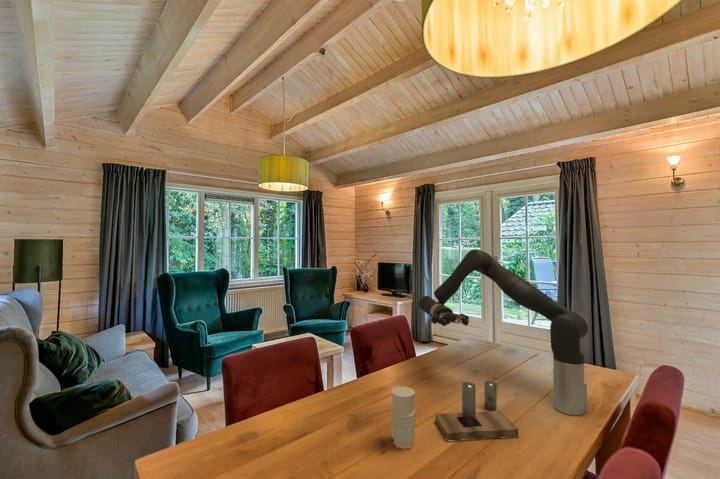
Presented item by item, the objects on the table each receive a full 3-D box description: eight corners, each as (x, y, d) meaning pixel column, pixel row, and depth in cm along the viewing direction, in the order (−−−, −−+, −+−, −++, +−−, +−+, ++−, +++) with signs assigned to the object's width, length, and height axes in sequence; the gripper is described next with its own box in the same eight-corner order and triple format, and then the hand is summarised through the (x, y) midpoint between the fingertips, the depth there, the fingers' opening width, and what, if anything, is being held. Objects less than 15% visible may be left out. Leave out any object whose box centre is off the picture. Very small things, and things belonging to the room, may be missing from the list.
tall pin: (472, 425, 108) (472, 381, 108) (477, 432, 104) (477, 387, 104) (460, 426, 108) (460, 382, 108) (465, 433, 104) (465, 387, 104)
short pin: (493, 405, 121) (493, 380, 121) (498, 411, 117) (498, 385, 117) (482, 406, 121) (482, 380, 121) (487, 411, 117) (487, 385, 117)
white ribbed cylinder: (414, 451, 94) (414, 398, 95) (390, 448, 96) (390, 395, 96) (415, 437, 101) (415, 387, 101) (392, 435, 103) (392, 385, 103)
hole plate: (499, 418, 112) (499, 410, 112) (518, 437, 101) (518, 429, 101) (435, 421, 110) (435, 413, 110) (447, 441, 99) (447, 433, 99)
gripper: (425, 305, 143) (437, 313, 126) (457, 304, 144) (474, 312, 128) (425, 323, 143) (437, 333, 126) (457, 322, 144) (474, 332, 128)
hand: (455, 323), depth 127 cm, fingers open, 8 cm apart
